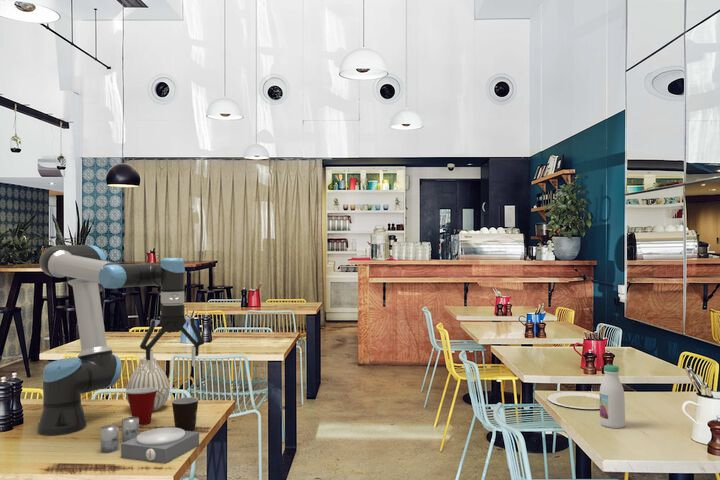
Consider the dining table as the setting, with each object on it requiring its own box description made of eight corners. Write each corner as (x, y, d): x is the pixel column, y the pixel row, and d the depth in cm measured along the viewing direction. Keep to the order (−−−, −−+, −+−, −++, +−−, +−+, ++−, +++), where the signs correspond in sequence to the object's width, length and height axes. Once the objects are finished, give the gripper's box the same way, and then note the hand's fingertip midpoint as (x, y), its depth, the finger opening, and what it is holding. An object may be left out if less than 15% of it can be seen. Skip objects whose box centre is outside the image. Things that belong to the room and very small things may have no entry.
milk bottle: (625, 423, 195) (623, 364, 195) (625, 430, 188) (623, 368, 188) (600, 420, 198) (599, 363, 198) (599, 427, 191) (598, 367, 191)
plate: (566, 391, 241) (566, 388, 241) (627, 402, 222) (627, 399, 222) (535, 402, 224) (535, 399, 224) (598, 415, 205) (598, 412, 205)
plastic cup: (161, 417, 210) (160, 384, 210) (154, 426, 199) (154, 391, 199) (130, 419, 208) (129, 386, 208) (122, 428, 197) (121, 393, 198)
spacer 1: (97, 451, 174) (96, 428, 174) (109, 446, 179) (109, 424, 179) (110, 453, 172) (109, 430, 173) (122, 448, 177) (122, 425, 177)
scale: (119, 457, 169) (119, 440, 169) (157, 440, 184) (157, 424, 184) (164, 464, 163) (164, 446, 163) (199, 445, 179) (199, 429, 179)
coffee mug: (190, 434, 189) (190, 404, 189) (167, 433, 191) (166, 403, 191) (207, 424, 201) (206, 395, 201) (184, 423, 202) (184, 394, 202)
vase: (119, 409, 221) (119, 357, 222) (159, 401, 232) (159, 352, 233) (135, 417, 210) (135, 363, 210) (176, 409, 220) (176, 357, 221)
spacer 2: (118, 442, 183) (118, 420, 183) (130, 437, 187) (129, 416, 187) (131, 444, 181) (131, 421, 181) (142, 438, 186) (142, 417, 186)
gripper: (133, 307, 181) (133, 374, 181) (212, 303, 193) (212, 366, 192) (131, 304, 188) (131, 369, 188) (208, 301, 199) (208, 362, 199)
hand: (172, 368), depth 190 cm, fingers open, 13 cm apart
